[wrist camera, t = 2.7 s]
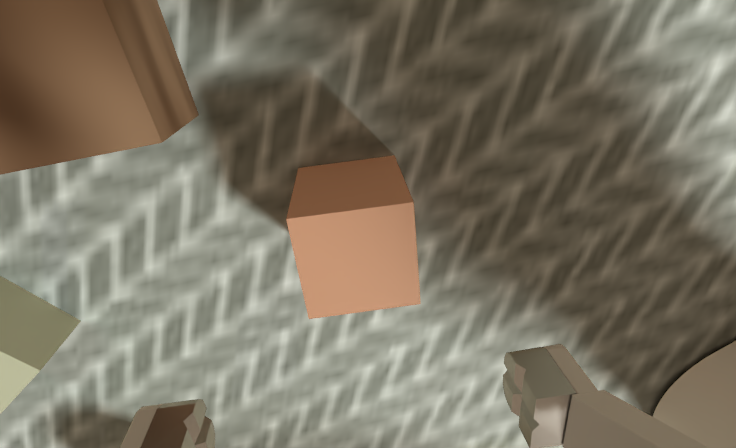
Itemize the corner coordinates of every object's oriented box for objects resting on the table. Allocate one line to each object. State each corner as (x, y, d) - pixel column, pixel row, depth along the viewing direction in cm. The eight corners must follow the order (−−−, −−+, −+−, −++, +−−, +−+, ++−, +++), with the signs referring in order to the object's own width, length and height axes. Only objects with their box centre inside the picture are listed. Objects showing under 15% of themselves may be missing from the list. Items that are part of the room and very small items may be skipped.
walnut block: (115, -120, 16) (30, -171, 11) (200, 113, 20) (162, 142, 16) (-111, -73, 16) (-282, -106, 12) (20, 149, 20) (-69, 188, 16)
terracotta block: (394, 155, 21) (413, 202, 16) (401, 238, 24) (420, 303, 18) (298, 167, 21) (286, 219, 16) (314, 249, 24) (308, 319, 18)
